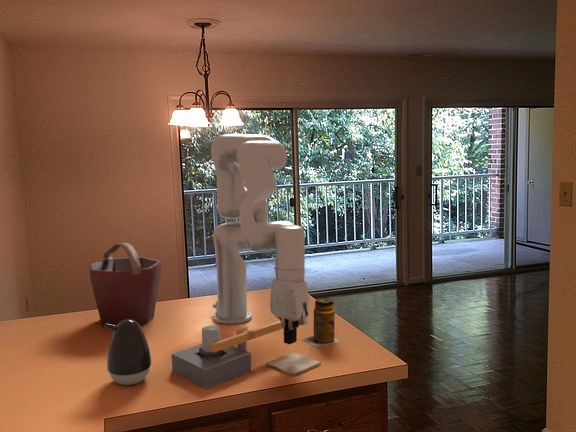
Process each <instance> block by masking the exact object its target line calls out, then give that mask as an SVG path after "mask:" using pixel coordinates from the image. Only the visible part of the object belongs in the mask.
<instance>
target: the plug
mask: <svg viewBox="0 0 576 432" xmlns="http://www.w3.org/2000/svg"><path fill="white" fill-rule="evenodd" d="M220 332H221V328H220V327H219V326H216V325H207V326H204V327H202V328H201V344H202V347H201V348H199V354H200V355H202V357H203V358H205V359H207V360H211V359H214V358H217V357H220V355H221V354H222V353H223V350H220V351H218V352H215V353H213V352H211V343H214V342H217V341H220V340H221V333H220Z"/></svg>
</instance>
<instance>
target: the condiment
mask: <svg viewBox="0 0 576 432" xmlns="http://www.w3.org/2000/svg"><path fill="white" fill-rule="evenodd" d="M335 316H336V315H335V308H334V300H333V299H331V298H327V297H321V298H317V299H315V302H314V309H313V336H310V337H304V338H302V340H303V341H305V342H306V343H308V344H310V345H312V346H314V347H316V348H319V347H322V346H326V345H332V344H335V343H339V342H341V340H339V339H337V338H335Z"/></svg>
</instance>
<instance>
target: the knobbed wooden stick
mask: <svg viewBox="0 0 576 432" xmlns="http://www.w3.org/2000/svg"><path fill="white" fill-rule="evenodd" d="M280 330H284V328H283V327H282V324H281V321H280V320H278V321H275V322H272V323H269V324H266V325H262V326H260V327H256V328H254V329H248V328H247V327H246V326H245V327H244V326H239V327H236V328H235V335H231V336H229V337H227V338H223V339H220V341H217V342H214V343H211V352H213V353H215V352H218V351H220V350H223V349H226V348H229V347H232V346H234V347H236V346H237V345H238V344H240V343H243V342H246V343H247V342H249V341H251V340H255V339H257V338H261V337H263V336H266V335H269V334H271V333H274V332H278V331H280Z"/></svg>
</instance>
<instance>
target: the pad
mask: <svg viewBox="0 0 576 432" xmlns="http://www.w3.org/2000/svg"><path fill="white" fill-rule="evenodd" d="M321 363H322V362H321V361H319V360H316V359H313V358H312V357H311V358H310V357H308V356H305V355H302V354H301V353H300V354H299V353H297V352H294V351H292V352H290V353H287V354H286V353H285V354H284V355H281V356H279V357H277V358H274V359H272V360H268V361H266V362H265V366H267V367H270V368H272V369H274V370H277V371H280V372H283V373H285V374H287V375H290V376H292V377H295V376H298V375H301V374H303V373H304V372H308V371H309V370H312V369H313V368H315V367H318V366H321Z"/></svg>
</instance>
